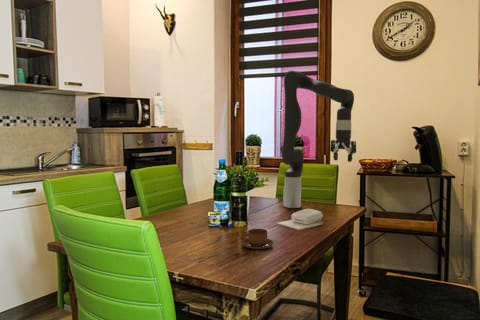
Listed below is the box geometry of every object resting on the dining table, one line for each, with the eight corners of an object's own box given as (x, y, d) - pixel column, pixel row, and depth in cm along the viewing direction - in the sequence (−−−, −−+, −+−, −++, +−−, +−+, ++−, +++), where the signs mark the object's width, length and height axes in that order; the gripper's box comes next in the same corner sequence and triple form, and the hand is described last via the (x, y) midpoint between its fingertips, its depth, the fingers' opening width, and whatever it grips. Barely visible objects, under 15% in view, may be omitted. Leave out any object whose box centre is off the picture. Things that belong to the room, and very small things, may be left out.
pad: (277, 223, 190) (277, 221, 190) (300, 218, 200) (300, 216, 199) (298, 230, 179) (298, 227, 179) (322, 224, 189) (322, 221, 188)
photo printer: (306, 215, 199) (289, 222, 191) (306, 207, 199) (289, 213, 191) (323, 219, 192) (306, 226, 184) (322, 211, 191) (305, 217, 183)
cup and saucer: (251, 253, 147) (251, 237, 146) (236, 244, 158) (236, 229, 157) (279, 248, 153) (279, 232, 152) (263, 240, 163) (263, 225, 163)
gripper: (327, 128, 207) (326, 160, 209) (350, 129, 196) (349, 162, 198) (336, 128, 212) (336, 159, 214) (360, 129, 201) (358, 161, 202)
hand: (342, 161), depth 206 cm, fingers open, 8 cm apart
